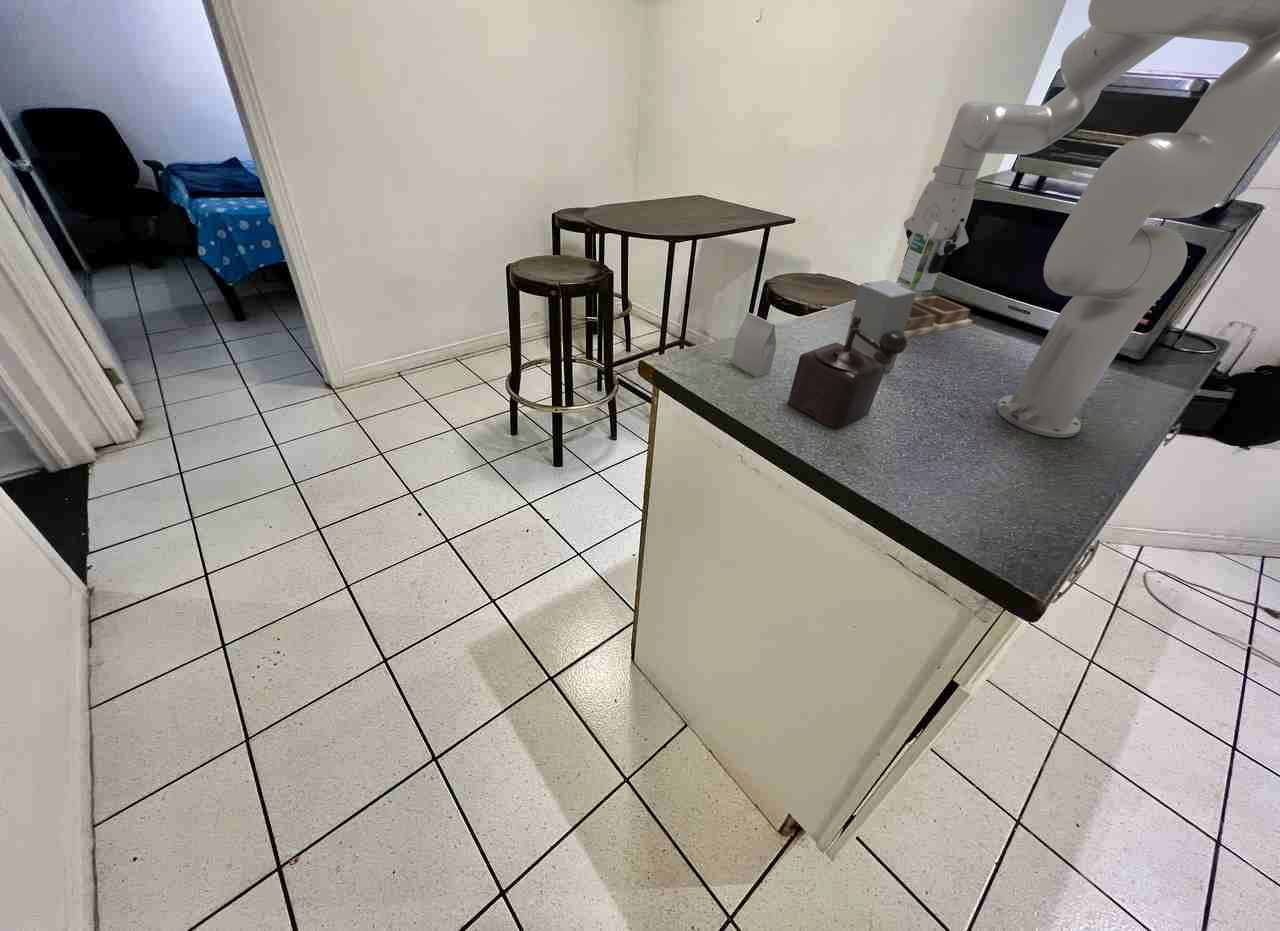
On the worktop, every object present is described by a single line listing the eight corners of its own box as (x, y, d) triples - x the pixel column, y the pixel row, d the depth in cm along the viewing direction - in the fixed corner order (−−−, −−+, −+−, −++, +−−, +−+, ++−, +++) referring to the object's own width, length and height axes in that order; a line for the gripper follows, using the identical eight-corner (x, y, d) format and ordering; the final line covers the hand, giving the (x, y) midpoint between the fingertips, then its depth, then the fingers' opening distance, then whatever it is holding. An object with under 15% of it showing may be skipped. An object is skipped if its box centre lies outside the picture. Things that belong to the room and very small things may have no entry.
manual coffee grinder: (782, 404, 91) (808, 303, 80) (820, 388, 97) (850, 291, 86) (860, 448, 81) (901, 340, 71) (897, 426, 87) (941, 323, 76)
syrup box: (894, 283, 120) (919, 214, 111) (915, 281, 122) (941, 214, 113) (911, 291, 116) (938, 221, 107) (933, 290, 117) (961, 221, 108)
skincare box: (892, 372, 103) (923, 292, 94) (863, 376, 101) (892, 296, 91) (863, 354, 110) (889, 277, 100) (835, 357, 107) (860, 280, 98)
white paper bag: (756, 377, 98) (766, 327, 92) (731, 363, 103) (740, 313, 96) (769, 373, 100) (781, 323, 94) (745, 359, 104) (754, 310, 98)
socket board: (902, 338, 117) (907, 323, 115) (850, 312, 129) (854, 298, 126) (971, 324, 127) (977, 310, 125) (917, 301, 138) (922, 288, 136)
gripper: (908, 169, 110) (879, 257, 121) (982, 185, 98) (942, 282, 109) (932, 168, 112) (901, 255, 123) (1007, 184, 100) (965, 279, 112)
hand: (921, 267), depth 116 cm, fingers closed on syrup box, 6 cm apart
